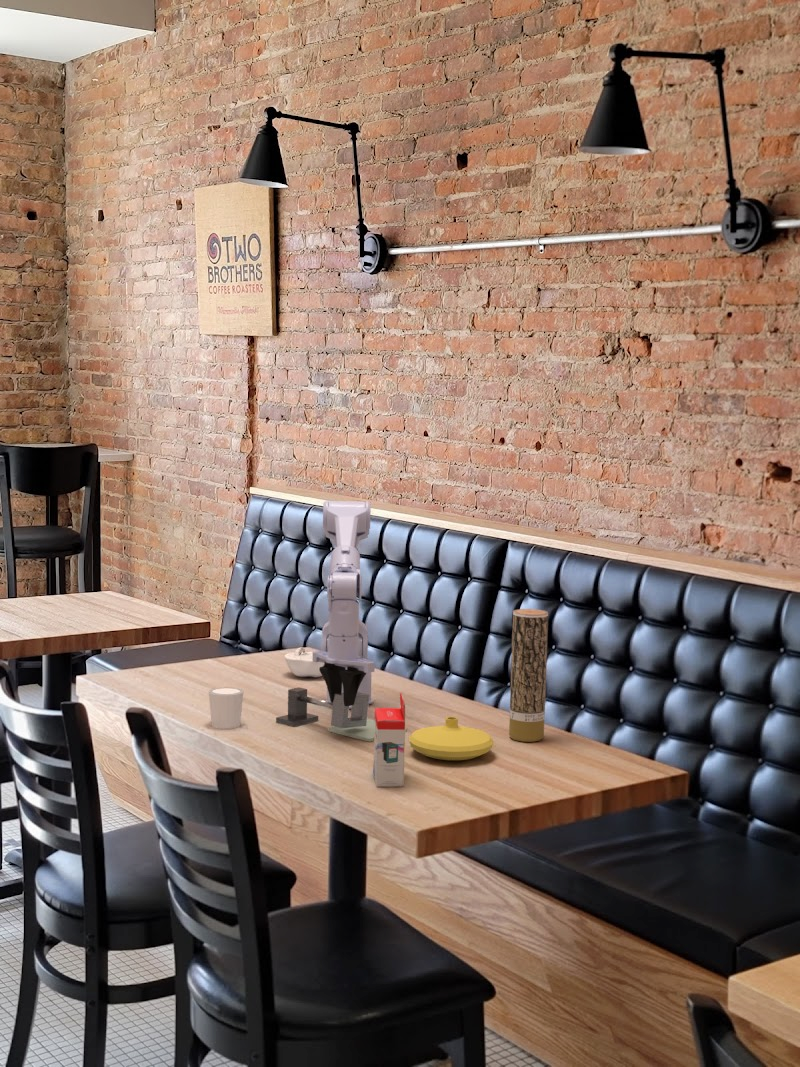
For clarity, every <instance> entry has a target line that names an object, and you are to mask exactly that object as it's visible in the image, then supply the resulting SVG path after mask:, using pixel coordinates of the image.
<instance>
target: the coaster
mask: <svg viewBox="0 0 800 1067" xmlns="http://www.w3.org/2000/svg"><path fill="white" fill-rule="evenodd" d="M327 731H328V733H329V732H331V733H334V734H338V735H341V736H346V737H350V738H353V739H358V740H361V741H365V742H369V743H371V742H374V734H375V719H370V718H367V723H366V726H361V727H351V728H339V727H335V726H331V727H328V728H327ZM407 731H408V728H407V727H405V733H406V732H407Z"/></svg>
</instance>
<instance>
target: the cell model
mask: <svg viewBox="0 0 800 1067" xmlns="http://www.w3.org/2000/svg"><path fill="white" fill-rule="evenodd" d="M313 652H314V651H306V649H305V648H304V647H298V648H296V649H295V651H294V652H293V651H291V652H288V653H286V654H284V656H283V657H284V659H285V662H286V665H287V668H288V670H290V671H291V673H292V674H293V675H295V676H297V677H299V678H320V677H323V676H322V674H321V672H320V671H319V670H320V667H323V666H324V663H322V662H313Z"/></svg>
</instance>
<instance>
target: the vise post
mask: <svg viewBox="0 0 800 1067" xmlns="http://www.w3.org/2000/svg"><path fill="white" fill-rule="evenodd" d="M287 691H288V692H287V714H285V715H282V716H277V717H276V718H275V723H277V724H281V725H284V726H289V727H293V728H295V727H300V726H303V725H306V724H311V723H315V722H318V721H319V715H318V714H317V715H316V714H313V713H308V704H311V705H314V706H315V705H316V706H320V707H324V708H327V709H332V707H333V703H331V702H329V701H324V700H325V699H324V700H323V699H320V698H316V697H311V696H308V689H307V688H303V687H299V686H298V687H293V688H289V689H288V690H287Z"/></svg>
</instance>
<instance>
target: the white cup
mask: <svg viewBox="0 0 800 1067" xmlns="http://www.w3.org/2000/svg"><path fill="white" fill-rule="evenodd" d="M208 697H209V700H208V701H209V710H210V720H211V726H212V728H215V729H220V730H229V729H236V728H238V727H240V726H241V720H242V713H243V702H244V690H243V689H242V688H236V687H216V688H212V689H210V690H209V691H208Z"/></svg>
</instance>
